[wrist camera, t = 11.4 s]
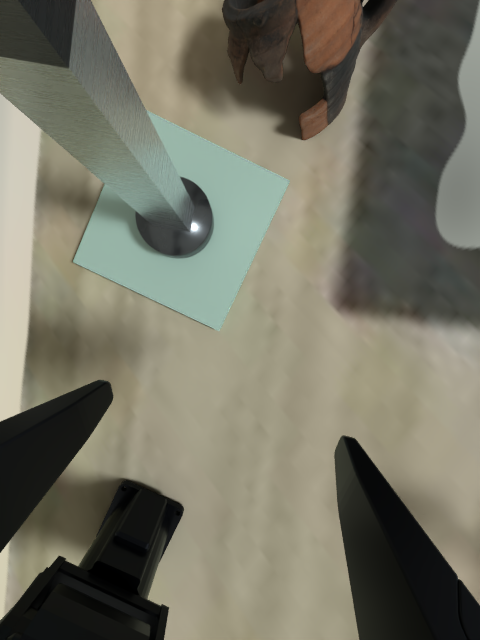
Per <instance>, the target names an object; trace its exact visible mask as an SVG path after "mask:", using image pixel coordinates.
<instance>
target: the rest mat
mask: <svg viewBox="0 0 480 640" xmlns="http://www.w3.org/2000/svg"><path fill="white" fill-rule="evenodd" d="M146 111H147V110H146ZM147 113H148V115H149V117H150V119H151V121H152V123H153V125H154V127H155V129H156V131H157V133H158V135H159V137H160V139H161V141H162V143H163V145H164V147H165V149H166V151H167V153H168V155H169V157H170V159H171V161H172V163H173V165H174V167H175V169H176V171H177V173H178V175H179V176H180V177H184V178H186V179H189V180H191V181H192V182H194V183H195V184H197V185H198V186H199V187H200V188H201V189H202V190H203V192H204V193H205V195H206V196H207V198H208V200H209V203H210V206H211V209H212V212H213V216H214V230H213V234H212V237H211V239H210V241H209V243H208V244H207V245H206V247H205V248H204V249H203V250H202V251H200V252H199V253H197V254H196V255H194V256H192V257H188V258H183V259H176V258H171V257H168V256H165V255H163V254H161V253H160V252H158V251H156V250H155V249H153V248H152V247H151V246H149V245H148V244H147V243H146V242H145V240H144V239H143V238H142V236H141V235H140V233H139V230H138V228H137V224H136V217H135V212H136V211H135V210H134V209H133V208H132V207H131V206H130V205H129V204H127V203H126V202H125V201H124V200H123V199H122V198H120V197H119V196H118V195H117V194H116V193H115V192H114V191H112V190H111V189H110V188H109V187H108V186H107V185H104V187H103V189H102V192H101V194H100V197H99V199H98V202H97V204H96V207H95V209H94V211H93V214H92V216H91V219H90V221H89V224H88V226H87V229H86V231H85V233H84V236H83V238H82V241H81V243H80V246H79V248H78V251H77V253H76V256H75V258H74V260H73V262H74V263H76V264H78V265H80V266H82V267H84V268H86V269H89V270H91V271H93V272H95V273H97V274H99V275H101V276H103V277H105V278H108V279H110V280H112V281H114V282H116V283H118V284H120V285H122V286H125V287H127V288H129V289H131V290H133V291H135V292H137V293H139V294H141V295H144V296H146V297H148V298H150V299H152V300H154V301H156V302H158V303H161V304H163V305H165V306H167V307H169V308H171V309H173V310H175V311H177V312H180V313H182V314H184V315H186V316H188V317H190V318H192V319H194V320H196V321H199V322H201V323H203V324H205V325H207V326H209V327H211V328H213V329H216V330H218V331H220V329H221V327H222V324H223V322H224V320H225V318H226V316H227V314H228V312H229V310H230V307H231V305H232V303H233V301H234V299H235V297H236V295H237V293H238V291H239V288H240V286H241V284H242V282H243V280H244V278H245V276H246V274H247V271H248V269H249V267H250V265H251V263H252V261H253V259H254V257H255V254H256V252H257V250H258V248H259V246H260V244H261V242H262V240H263V237H264V235H265V233H266V231H267V229H268V227H269V225H270V223H271V220H272V218H273V216H274V214H275V212H276V210H277V208H278V206H279V203H280V201H281V199H282V197H283V195H284V193H285V191H286V189H287V186H288V184H289V182H290V181H289V180H287V179H285V178H283V177H281V176H279V175H277V174H275V173H273V172H271V171H269V170H267V169H265V168H263V167H261V166H259V165H257V164H255V163H253V162H251V161H249V160H247V159H245V158H243V157H241V156H239V155H236V154H234V153H232V152H230V151H228V150H226V149H224V148H222V147H220V146H218V145H216V144H214V143H212V142H210V141H208V140H206V139H204V138H202V137H200V136H198V135H196V134H194V133H192V132H190V131H188V130H186V129H184V128H182V127H179V126H177V125H175V124H173V123H171V122H169V121H167V120H165V119H163V118H161V117H159V116H157V115H155V114H153V113H151V112H149V111H147Z"/></svg>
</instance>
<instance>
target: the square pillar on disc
mask: <svg viewBox="0 0 480 640" xmlns="http://www.w3.org/2000/svg"><path fill="white" fill-rule="evenodd" d="M0 93H1V94H2V95H3V96H4V97H5V98H6V99H8V100H9V101H10V102H11V103H12V104H13V105H14V106H16V107H17V108H18V109H19V110H20V111H21V112H22V113H24V114H25V115H26V116H27V117H28V118H30V119H31V120H32V121H33V122H34V123H35V124H36V125H37V126H39V127H40V128H41V129H42V130H43V131H44V132H46V133H47V134H48V135H49V136H50V137H51V138H52V139H54V140H55V141H56V142H57V143H58V144H59V145H61V146H62V147H63V148H64V149H65V150H66V151H67V152H69V153H70V154H71V155H72V156H73V157H74V158H76V159H77V160H78V161H79V162H80V163H81V164H82V165H84V166H85V167H86V168H87V169H88V170H89V171H90V172H92V173H93V174H94V175H95V176H96V177H97V178H99V179H100V180H101V181H102V182H103V183H104V184H105V185H107V186H108V187H109V188H110V189H111V190H112V191H114V192H115V193H116V194H117V195H118V196H119V197H120V198H122V199H123V200H124V201H125V202H126V203H127V204H129V205H130V206H131V207H132V208H133V209H134V210H135V211H136V212H135V217H136V224H137V228H138V230H139V233H140V235H141V236H142V238H143V239H144V240H145V242H146V243H147V244H148V245H149V246H151V247H152V248H153V249H155V250H156V251H158V252H160V253H161V254H163V255H165V256H168V257H171V258H176V259H183V258H188V257H192V256H194V255H196V254H197V253H199V252H200V251H202V250H203V249H204V248H205V247H206V245H207V244H208V243H209V241H210V239H211V237H212V234H213V230H214V216H213V212H212V209H211V206H210V203H209V200H208V198H207V196H206V195H205V193H204V192H203V190H202V189H201V188H200V187H199V186H198V185H197V184H195V183H194V182H192V181H191V180H189V179H186V178H184V177H180V176H179V175H178V173H177V171H176V169H175V167H174V165H173V163H172V161H171V159H170V157H169V155H168V153H167V151H166V149H165V147H164V145H163V143H162V141H161V139H160V137H159V135H158V133H157V131H156V129H155V127H154V125H153V123H152V121H151V119H150V117H149V115H148V113H147V111H146V109H145V107H144V105H143V103H142V101H141V99H140V97H139V95H138V93H137V91H136V89H135V87H134V85H133V83H132V81H131V79H130V77H129V75H128V73H127V71H126V69H125V67H124V65H123V63H122V61H121V59H120V57H119V55H118V53H117V51H116V49H115V47H114V45H113V43H112V41H111V39H110V38H109V36H108V34H107V32H106V30H105V28H104V26H103V24H102V22H101V20H100V18H99V16H98V14H97V12H96V10H95V8H94V6H93V4H92V2H91V0H0Z"/></svg>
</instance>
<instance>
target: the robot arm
mask: <svg viewBox="0 0 480 640" xmlns="http://www.w3.org/2000/svg"><path fill="white" fill-rule="evenodd" d="M112 401H113V392H112V388H111V384H110V382H108V381H104V380H97V381H95V382H92V383H90V384H88V385H85V386H83V387H81V388H78V389H76V390H74V391H71V392H69V393H67V394H64V395H62V396H60V397H57V398H55V399H52V400H50V401H48V402H45V403H43V404H41V405H38V406H36V407H34V408H31V409H29V410H27V411H24V412H22V413H20V414H17V415H15V416H13V417H10V418H8V419H6V420H3V421H1V422H0V553H1V551H2V550H3V549H4V547H5V546H6V545H7V543H8V542H9V541H10V540H11V538H12V537H13V536H14V534H15V533H16V532H17V530H18V529H19V528H20V527H21V525H22V524H23V523H24V521H25V520H26V519H27V518H28V516H29V515H30V514H31V512H32V511H33V510H34V508H35V507H36V506H37V505H38V503H39V502H40V501H41V499H42V498H43V497H44V496H45V494H46V493H47V492H48V490H49V489H50V488H51V486H52V485H53V484H54V483H55V481H56V480H57V479H58V477H59V476H60V475H61V474H62V472H63V471H64V470H65V468H66V467H67V466H68V464H69V463H70V462H71V461H72V459H73V458H74V457H75V455H76V454H77V453H78V451H79V450H80V449H81V448H82V446H83V445H84V444H85V442H86V441H87V440H88V438H89V437H90V435H91V434H92V432H93V431H94V429H95V428H96V426H97V425H98V423H99V422H100V420H101V418H102V417H103V415H104V414H105V412H106V411H107V409H108V408H109V406H110V404H111V403H112ZM335 472H336V488H337V502H338V511H339V518H340V524H341V530H342V537H343V543H344V549H345V555H346V561H347V567H348V573H349V579H350V585H351V592H352V598H353V604H354V610H355V616H356V622H357V628H358V634H359V640H480V605H479V604H478V602H477V601H476V600H475V598H474V597H473V596H472V594H471V593H470V592H469V590H468V589H467V588H466V586H465V585H464V584H463V582H462V581H461V580H460V579H458V576H457V574H456V573H455V572H454V570H453V569H452V568H451V566H450V565H449V564H448V562H447V561H446V560H445V558H444V557H443V556H442V554H441V553H440V552H439V550H438V549H437V548H436V546H435V545H434V543H433V542H432V541H431V539H430V538H429V537H428V535H427V534H426V533H425V531H424V530H423V529H422V527H421V526H420V525H419V523H418V522H417V521H416V519H415V518H414V517H413V515H412V514H411V513H410V511H409V510H408V509H407V507H406V506H405V505H404V503H403V502H402V501H401V499H400V498H399V496H398V495H397V494H396V492H395V491H394V490H393V488H392V487H391V486H390V484H389V483H388V482H387V480H386V479H385V478H384V476H383V475H382V474H381V472H380V471H379V470H378V468H377V467H376V466H375V464H374V463H373V462H372V460H371V459H370V458H369V456H368V455H367V453H366V452H365V451H364V449H363V448H362V447H361V445H360V444H359V443H358V441H357V440H356V439H355V438H353V437H349V436H344V435H343V436H341V438H340V440H339V442H338V445H337V447H336V449H335ZM124 486H125V487H126V488H125V487H124ZM178 511H180V512H178ZM183 512H184V507H183V506H182V505H180V504H178V503H176V502H174V501H171V500H169V499H167V498H165V497H163V496H160V495H158V494H156V493H154V492H151V491H149V490H147V489H145V488H143V487H140V486H138V485H136V484H134V483H132V482H129V481H123V482H122V483H121V485H120V486H119V488H118V490H117V492H116V495H115V497H114V499H113V501H112V503H111V505H110V508H109V510H108V512H107V514H106V516H105V518H104V521H103V523H102V525H101V527H100V529H99V531H98V534H97V536H96V539H95V540H94V542H93V543H92V545H91V547H90V548H89V550H88V551H87V553H86V555H85V556H84V558H83V559H82V561H81V563H80V564H79V566H76V565H74V564H72V563H69V562H67V561H65V560H66V558H64V557H62V556H58V557H57V559H56V560H55V561H54V562H53V564H52V565H51V566H50V567H49V568H48V567H47V568H46V569H45V570H44V571H43V572H42V573H39V574H38V576H37V577H36V578H35V580H34V581H33V582H32V584H31V585H30V586H29V588H28V589H27V590H26V592H25V593H24V594H23V596H22V597H21V598H20V599H19V601H18V602H17V603H16V604H15V605H14V607H13V608H12V609H11V610H10V611H9V612H8V613H7V614H6V615H5V616H4V617H3V618H2V619H1V620H0V640H164V635H165V629H166V623H167V617H168V610H169V607H167V606H165V605H163V604H162V605H161V606H160V605H158V604H156V603H154V602H152V601H150V600H148V599H147V598H148V595H149V592H150V589H151V585H152V582H153V579H154V576H155V573H156V570H157V567H158V564H159V562H160V560H161V558H162V556H163V554H164V552H165V550H166V548H167V546H168V544H169V542H170V540H171V538H172V536H173V534H174V531H175V529H176V527H177V525H178V523H179V521H180V519H181V517H182V515H183Z"/></svg>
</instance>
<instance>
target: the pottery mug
mask: <svg viewBox="0 0 480 640" xmlns="http://www.w3.org/2000/svg"><path fill="white" fill-rule="evenodd" d="M396 1H397V0H369V1H368V2H367V3H366V5H365V6H364V7H363V6H362V2H363V0H225V1H224V3H223V8H222V12H223V18H224V21H225V23H226V25H227V27H228V28H229V30H230V32H229V38H228V56H229V58H230V60H231V63H232V66H233V69H234V74H235V76H236V79H237V81H238V83H239V84H241V83H242V81H243V71H244V66H245V63H246V60H247V57H248V53H249V50H250V54H251V58H252V60H253V62H254V64H255V65H256V66H257V67H258V68H259V69H260V70H261V71H262V72H263V75H264V77H265V79H266V80H268V81H270V82H279V81H281V80H282V79H283V64H282V61H283V59H284V57H285V53H286V50H287V46H288V43H289V39H290V37H291V35H292V33H293V30H294V28H295V25H296V24H297V23H298V26H299V28H300V33H301V37H302V43H303V57H304V62H305V64H306V65H307V68H308V69H309V71H310V72H312V73H319V72H321V78H322V81H323V86H324V96H323V98H322V99H321V100H320V101H319V102H318V103H317V104H316V105H314V106H312V107H311V108H310V109H308V110H307V111H305V112H303V113H301V114H300V116H299V123H300V127H301V134H302V140H307V139H309V138H311V137H313V136H315V135H316V134H318V133H320V132H321V131H322V130H323V129H324V128H326V127H327V126H328V125H329V124H330V123H331V122H332V121H333V120H334V119H335V118H336V117H337V116H338V114H339V113H340V111H341V109H342V108H343V106H344V103H345V101H346V96H347V91H348V87H349V83H350V80H351V76H352V73H353V71H354V68H355V64H356V59H357V56H358V54H359V51H360V49H361V47H362V45H363V44H364V43H365V42H366V40H367V39H368V38H369V37H370V36H371V35H372V34H373V33H374V32H375V31H376V30H377V29H378V27H379V26H380V25H381V24H382V22H383V21H384V20H385V18H386V17H387V16H388V14H389V13H390V11H391V10H392V8H393V7H394V5H395V3H396Z"/></svg>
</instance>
